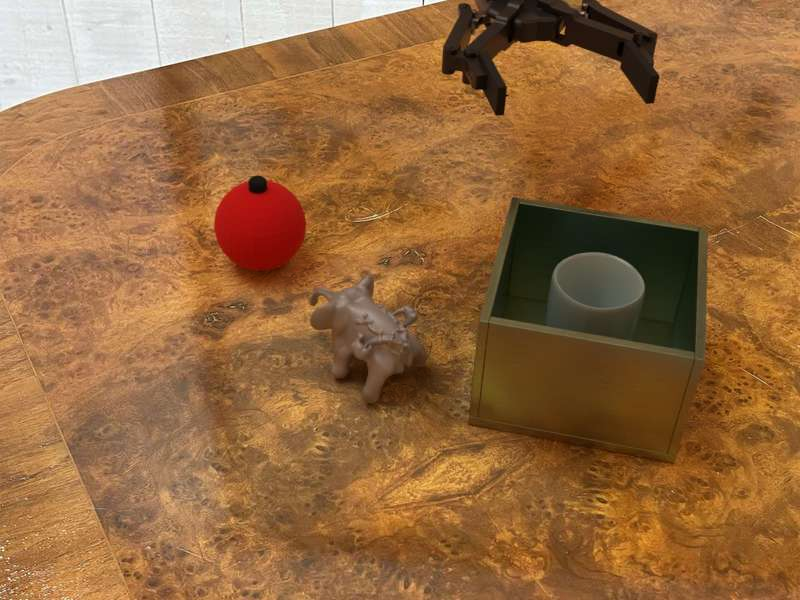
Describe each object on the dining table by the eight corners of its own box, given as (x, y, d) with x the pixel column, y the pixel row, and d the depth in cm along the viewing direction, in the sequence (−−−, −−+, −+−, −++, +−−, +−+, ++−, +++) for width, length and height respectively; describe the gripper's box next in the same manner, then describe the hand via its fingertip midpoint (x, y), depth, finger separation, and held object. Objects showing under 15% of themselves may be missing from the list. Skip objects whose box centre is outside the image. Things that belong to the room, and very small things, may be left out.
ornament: (258, 223, 113) (253, 143, 106) (325, 256, 109) (323, 174, 103) (199, 265, 107) (189, 183, 101) (267, 301, 103) (261, 218, 97)
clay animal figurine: (395, 418, 92) (397, 353, 87) (273, 375, 96) (269, 311, 91) (436, 352, 99) (441, 288, 94) (321, 314, 102) (319, 251, 97)
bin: (680, 327, 102) (708, 227, 95) (674, 463, 89) (705, 360, 82) (499, 296, 105) (511, 196, 97) (467, 424, 92) (478, 320, 84)
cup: (567, 405, 93) (584, 319, 86) (523, 348, 98) (536, 263, 91) (642, 381, 95) (664, 296, 89) (595, 327, 101) (612, 243, 94)
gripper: (622, 17, 112) (704, 122, 96) (387, 32, 107) (433, 145, 92) (634, -53, 107) (723, 46, 91) (389, -40, 103) (438, 66, 87)
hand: (578, 96), depth 91 cm, fingers open, 13 cm apart
